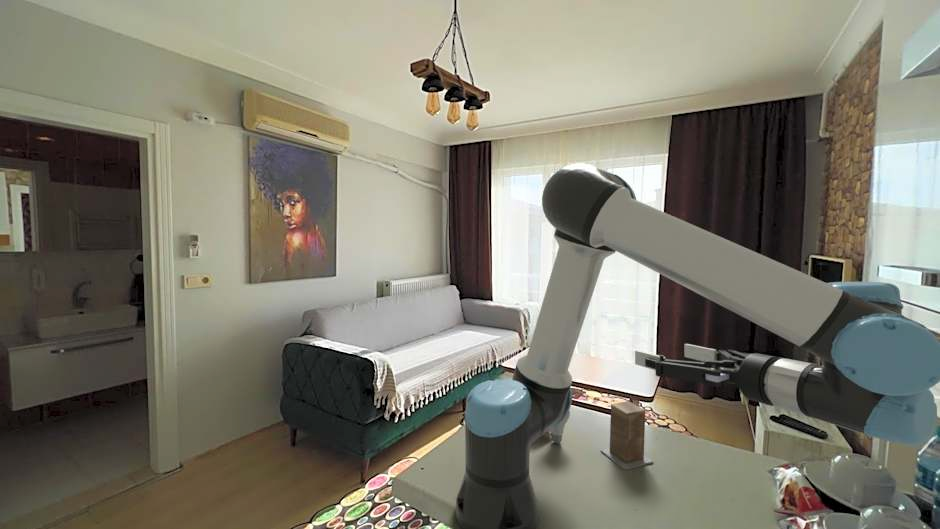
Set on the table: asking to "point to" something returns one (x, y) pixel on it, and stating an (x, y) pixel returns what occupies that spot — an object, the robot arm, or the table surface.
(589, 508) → the table surface
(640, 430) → the brown wooden block
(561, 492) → the table surface
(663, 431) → the table surface
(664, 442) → the table surface
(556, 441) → the lightbulb
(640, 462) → the grey square base plate
